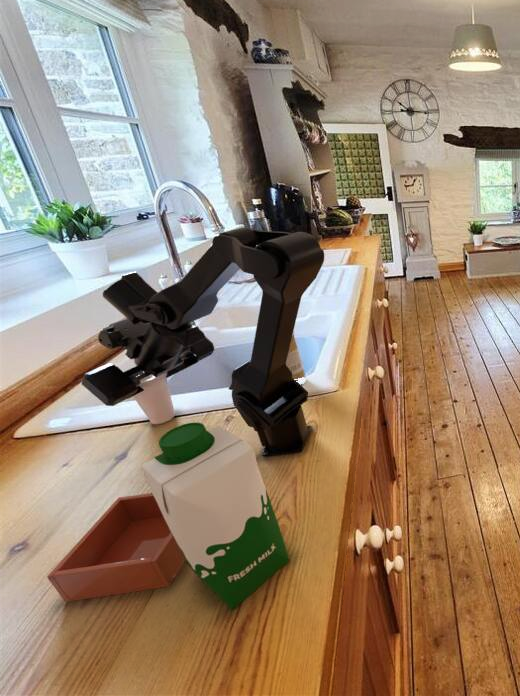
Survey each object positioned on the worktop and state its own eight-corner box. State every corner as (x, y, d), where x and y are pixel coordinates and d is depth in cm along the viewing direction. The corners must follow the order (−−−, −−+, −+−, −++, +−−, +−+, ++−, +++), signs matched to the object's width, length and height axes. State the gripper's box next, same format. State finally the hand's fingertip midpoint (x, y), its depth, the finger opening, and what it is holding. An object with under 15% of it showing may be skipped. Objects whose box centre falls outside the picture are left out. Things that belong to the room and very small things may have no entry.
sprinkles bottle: (303, 375, 92) (289, 321, 87) (309, 383, 89) (294, 328, 84) (281, 383, 90) (265, 327, 84) (287, 392, 86) (270, 334, 81)
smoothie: (138, 432, 75) (105, 367, 70) (147, 414, 81) (117, 351, 75) (180, 421, 78) (152, 357, 72) (186, 404, 83) (160, 343, 78)
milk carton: (262, 527, 56) (215, 405, 48) (301, 558, 51) (257, 430, 43) (189, 582, 49) (121, 451, 41) (228, 624, 45) (160, 486, 37)
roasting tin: (217, 509, 59) (206, 485, 57) (169, 586, 49) (155, 560, 47) (131, 520, 58) (118, 497, 56) (65, 602, 47) (46, 576, 46)
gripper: (182, 288, 77) (161, 335, 84) (60, 330, 61) (47, 383, 68) (227, 329, 78) (202, 372, 85) (120, 381, 62) (100, 429, 69)
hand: (144, 386), depth 77 cm, fingers closed on smoothie, 6 cm apart
